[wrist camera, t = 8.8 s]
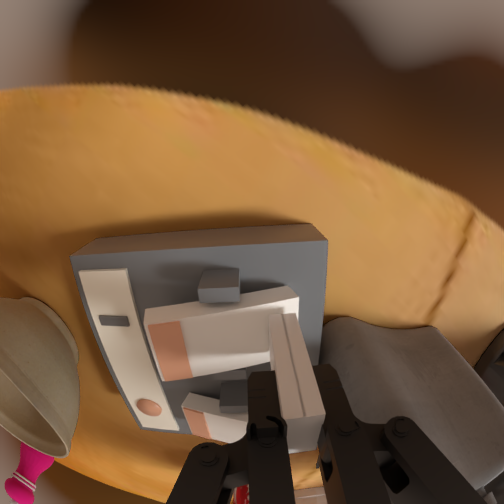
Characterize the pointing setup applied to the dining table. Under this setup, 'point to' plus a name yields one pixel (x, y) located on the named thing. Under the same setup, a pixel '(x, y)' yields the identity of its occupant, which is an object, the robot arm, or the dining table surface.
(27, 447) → the pepper mill
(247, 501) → the soda can
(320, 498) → the dish
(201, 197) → the dining table surface
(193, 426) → the block
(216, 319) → the rocker
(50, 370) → the planter bowl
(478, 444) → the flask
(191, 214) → the dining table surface
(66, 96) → the dining table surface
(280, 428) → the robot arm
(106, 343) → the switch unit
